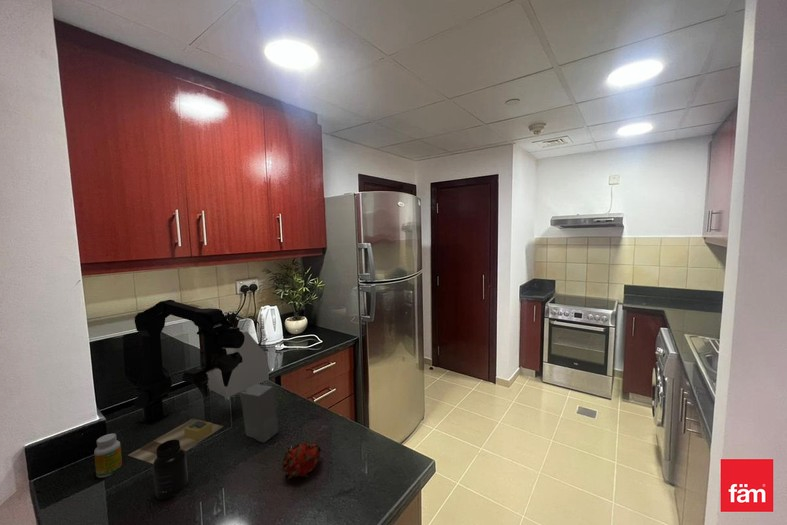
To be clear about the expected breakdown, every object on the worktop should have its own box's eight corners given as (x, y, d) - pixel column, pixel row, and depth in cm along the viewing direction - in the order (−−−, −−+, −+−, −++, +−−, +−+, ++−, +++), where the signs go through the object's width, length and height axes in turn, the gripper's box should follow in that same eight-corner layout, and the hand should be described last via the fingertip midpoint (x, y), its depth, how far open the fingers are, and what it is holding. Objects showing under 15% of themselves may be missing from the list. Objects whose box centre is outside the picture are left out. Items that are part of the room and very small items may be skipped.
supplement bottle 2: (166, 481, 82) (163, 437, 82) (193, 478, 83) (190, 435, 82) (148, 502, 76) (144, 455, 75) (178, 499, 76) (174, 452, 75)
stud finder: (184, 437, 100) (183, 425, 99) (199, 428, 104) (198, 417, 104) (198, 440, 98) (197, 429, 97) (212, 431, 102) (211, 420, 102)
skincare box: (279, 432, 102) (276, 385, 101) (261, 445, 96) (258, 395, 95) (260, 426, 106) (257, 381, 105) (242, 439, 99) (239, 390, 98)
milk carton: (250, 373, 152) (247, 322, 150) (268, 380, 143) (265, 326, 141) (208, 388, 136) (204, 332, 135) (226, 398, 127) (222, 338, 126)
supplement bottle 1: (106, 479, 84) (103, 444, 83) (90, 477, 85) (87, 442, 84) (127, 465, 89) (124, 432, 88) (112, 463, 90) (109, 430, 89)
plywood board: (121, 456, 93) (121, 453, 93) (186, 420, 112) (186, 417, 111) (169, 472, 85) (169, 469, 85) (230, 430, 104) (230, 427, 104)
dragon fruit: (278, 491, 80) (317, 471, 89) (295, 484, 76) (334, 463, 85) (270, 456, 83) (308, 439, 92) (286, 446, 79) (324, 430, 88)
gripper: (204, 359, 94) (208, 409, 95) (252, 340, 112) (255, 382, 113) (179, 355, 98) (183, 403, 99) (229, 338, 116) (232, 378, 117)
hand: (216, 391), depth 107 cm, fingers open, 8 cm apart
